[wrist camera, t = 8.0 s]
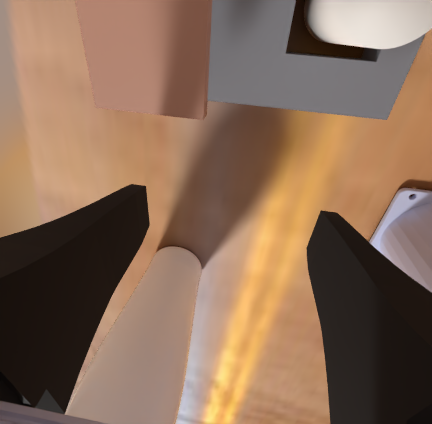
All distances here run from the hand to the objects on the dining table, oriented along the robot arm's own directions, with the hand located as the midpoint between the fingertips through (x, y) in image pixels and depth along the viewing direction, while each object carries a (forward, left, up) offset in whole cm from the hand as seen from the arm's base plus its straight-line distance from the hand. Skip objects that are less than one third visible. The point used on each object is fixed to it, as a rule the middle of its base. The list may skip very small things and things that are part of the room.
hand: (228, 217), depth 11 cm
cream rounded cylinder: (+5, +14, -10) cm, 18 cm away
